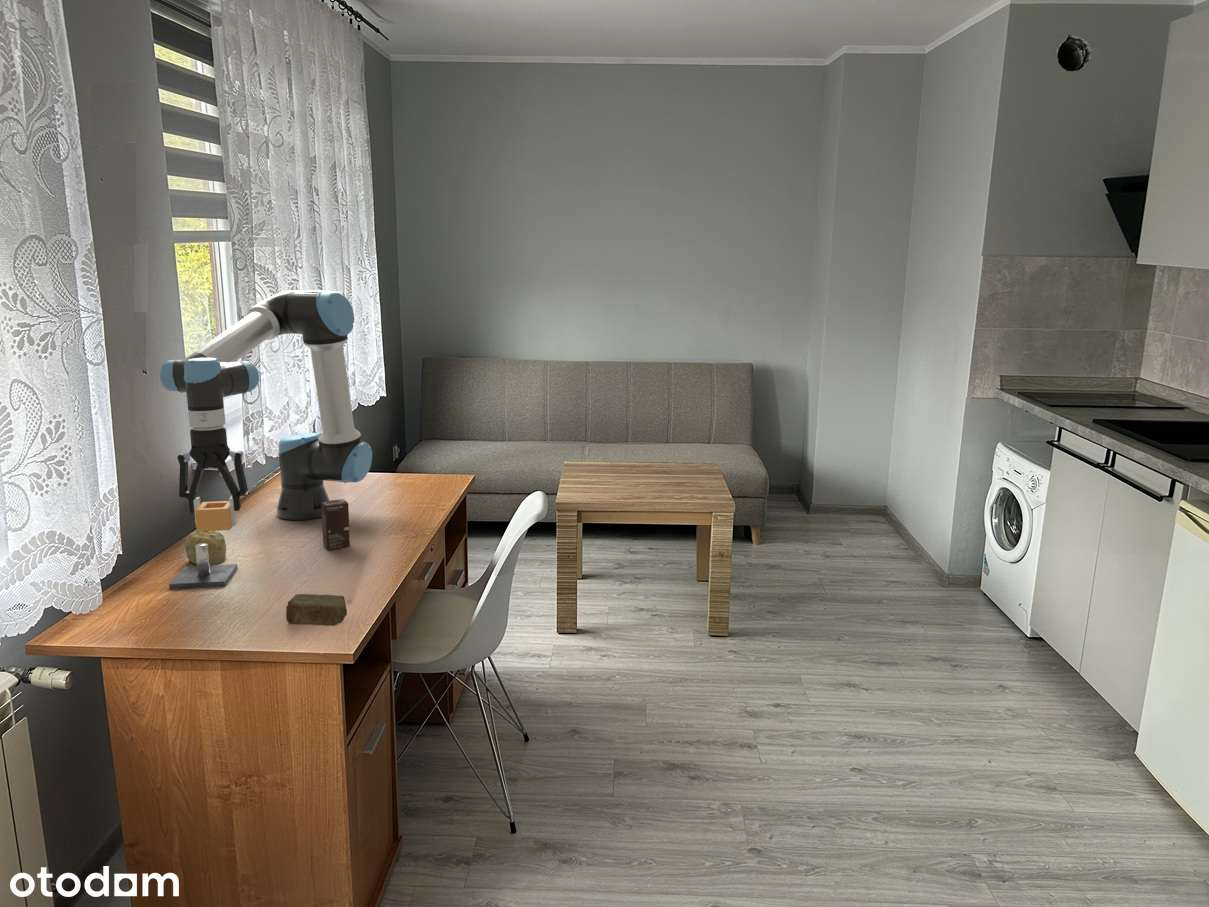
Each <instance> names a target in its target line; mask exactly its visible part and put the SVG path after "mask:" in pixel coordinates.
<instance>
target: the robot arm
mask: <svg viewBox="0 0 1209 907" xmlns="http://www.w3.org/2000/svg"><path fill="white" fill-rule="evenodd" d="M354 324H355V314H354V308H353V306H352V304H351V302H350V300H349V298H347V297H346V296H345V295H344V294H343V293H341V292H339V291H330V290H327V289H325V290H324V289H323V290H318V289H317V290H314V289H313V290H296V289H291V290H284V291H282V292H279V293H276V294H274V295H272V296H269V297H267V298H265V299H263V300H262V301H260V302H259V303H256V304H255V305H253V306H252V307H250V309H249V310H247V313H246V316H245V317H244V318H242V319H241V320H239V321H238V322H236V323H235V324H234V325H232V326H230V327H229V328H227V329H226V330H225V331H222V333H220V334H219V335H217V336H216V337H214V338H213V339H211V340H210V341H208V342H207V343H206V344H204V345H203V346H201V347H199V348H198V349H196V350H195V351H194V352H192V353H191V354H190V355H187V356H186V357H184V358H183V359H170V360H167V361H165V362H164V363H162V365H161V367H160V371H159V379H160V383H161V385H162V386H163V387H164V388H165V389H166V390H168V391H171V392H177V393H182V394H183V393H186V401H187V415H188V425H189V426H188V427H190V428H191V429H190V430H189V435H190V444H191V446H190V448H191V449H190V450H189V452H181V453H179V454H178V455H177V457H176V458H177V461H178V464H179V482H178V483H179V487H178V496H179V497H180V498H185V499H187V500H188V506H189V507H188V508H189V512H190V513H191V514H194V519H195V528H196V529H197V524H196V514H195V510H196V509H197V508H198V507H199V506H200V505H201V497H200V496H197V493H198V490H199V488H200V483H201V481H202V477H203V474H204V470H205V469H210V468H212V469H217V470H218V472H219V473H220V474H221V477H222V479H223V480H224V482H225V485H226V487H227V488H228V490H229V492H230V495H231V496H230V497H229V499H228V501H229V503H230V511H231V522H232V527H236V525H237V524H238V511H240V510H241V507H242V506H241V497H242V496H243V495H246V494H247V492H248V491H249V488H248V483H247V480H246V479H247V478H246V475H245V470H244V465H243V453H244V452H243V451H242V450H238V451H235V450H231V449H230V447H229V446H228V445H229V444H228V435H227V428H226V427H225V426H224V425H226V424H227V423H226V414H225V403H224V402H225V401H224V398H226V397H233V396H237V395H240V394H242V395H243V394H246V393H249V392H251V391H254V390H255V388H256V387H257V386H258V385H259V382H260V374H259V371H258V369H257V367H256V365H254V364H253V362H250V361H249V360H241V358H243V357H244V356H246V355H247V354H249V353H250V352H252V351H253V350H254V349H255V348H257V347H258V346H259V345H261V344H262V343H264V342H265V341H271V340H274V339H276V338H277V337H279V336H281V335H289V334H290V335H291V334H294V335H295V334H297V335H302V336H301V337H302V342H303V344H304V345H305V346H306V347H307V348H309V350H310V355H311V360H312V361H311V362H312V363H311V364H312V368H313V376H314V382H315V388H316V389H315V390H316V395H317V403H318V409H319V415H320V421H321V428H322V429H321V430H322V432H321V434H320V433H319V432H308V433H306V432H305V433H302V434H301V433H300V434H295V435H289V436H286V437H283V438H282V439H280V440H279V442H278V460H279V471H280V474H279V475H280V483H281V490H280V494H279V499H278V501H277V505H276V516H277V517H278V518H280V519H283V520H288V521H303V520H307V521H308V520H313V519H317V518H322V510H321V502H326V501H331V500H330V498H329V494H328V493H327V490H326V488H325V485H324V481H325V482H326V481H327V482H338V483H339V482H340V483H344V484H347V483H354V484H355V483H358V482H361V481H362V480H364V479H365V478H366V476H367V475H368V473H369V471H370V469H371V466H372V461H373V449H372V447H371V446H370V444H369V443H368V442H365V441H363V440H362V434H361V432H360V431H359V430H357V429H356V428H355V423H354V416H353V410H352V403H351V401H352V400H351V394H350V388H349V380H348V374H347V373H348V372H347V366H346V358H345V350H344V345H345V344H346V343H347V341H348V339H349V338H348V335H349V334H351V332H352V331H353V329H354ZM229 456H230V459H231V460H232V461H233V466H234V470H235V475H236V480H237V484H238V485H237V484H236V482H235V480H234V478H233V476H232V474H231V472H230V470H229V467H228V465H227V462H226V460H227V459H228V457H229ZM191 458H192V459H193V461H194V462H195V463H196V467H195V472H194V475H193V479H192V482H191V485H190V487H189V485H188V484H189V462H190V461H191ZM188 487H189V489H188Z"/></svg>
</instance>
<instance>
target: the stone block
mask: <svg viewBox="0 0 1209 907" xmlns="http://www.w3.org/2000/svg"><path fill="white" fill-rule="evenodd" d="M285 610H286V611H285V616H286V618H285V619H286V622H288V624H295V625H306V626H307V625H313V626H325V627H327V626H328V627H329V626H330V627H336V626H337V625H339V624H341V623H342V622H343V621H344V619H345V617H346V616H348V609H347V606H346V600H345V597H344V595H334V594H315V593H313V594H312V593H311V594H310V593H309V594H308V593H296V594H295V595H294V596H293V597H291V598H290V599H289V600H288V601H287V605H286V607H285Z"/></svg>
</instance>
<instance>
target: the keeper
mask: <svg viewBox="0 0 1209 907" xmlns="http://www.w3.org/2000/svg"><path fill="white" fill-rule="evenodd" d="M195 548H196V558H197V565H188V566H187V565H185V566H184V567H182V569H181V570H180V571H179V572H178V574H176V576H175V577H174V578H173V579H172V580H171V581H170V582H169V583H168V587H169V590H177V589H178V590H179V589H181V590H182V589H196V588H200V589H201V588H219V587H226V586H227V584H228V583H229V582H230V581H231V579H232V577H233V576H234V575H235V573H236V571H237V570H238V569H239V568H238V563H230V564H229V563H228V564H209V555H208V544H206V543H201V544H197V545H195Z"/></svg>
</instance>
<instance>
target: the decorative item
mask: <svg viewBox="0 0 1209 907" xmlns="http://www.w3.org/2000/svg"><path fill="white" fill-rule="evenodd" d="M201 543H206V544H208V555H209V565H217V564H219V563H221V562H224V561H225V560H226V559H227V558H226V557H227V556H226V555H227V544H226V539H225V537H224V535H223V534H222V533H221V532H218V531H198V532H197V530H195V531H193V532H191V533H189V535H188V536H187V538H186V540H185V543H184V548H185V553H186V557H187V559H188V562H189V563H193V564H195V566H197V558H196V548H195V545H197V544H201Z"/></svg>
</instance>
